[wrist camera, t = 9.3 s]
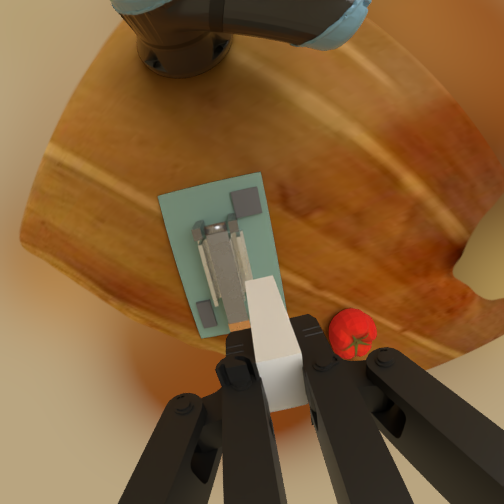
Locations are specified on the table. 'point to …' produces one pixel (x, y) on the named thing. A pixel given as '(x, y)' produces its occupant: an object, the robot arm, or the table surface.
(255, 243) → the board
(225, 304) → the silver flat strip
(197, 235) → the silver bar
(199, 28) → the robot arm
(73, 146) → the table surface
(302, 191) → the table surface
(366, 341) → the tomato
